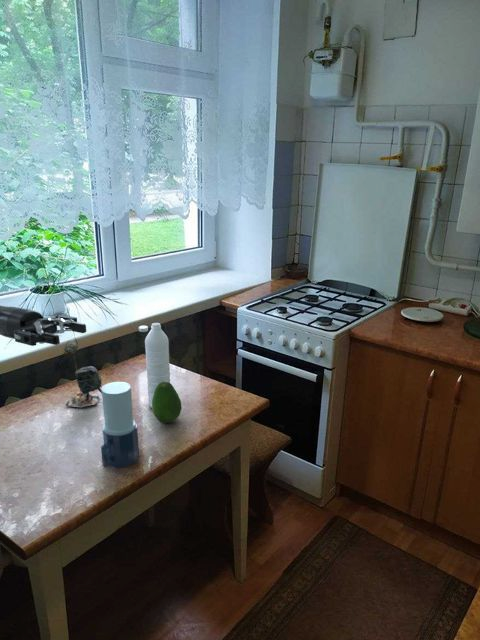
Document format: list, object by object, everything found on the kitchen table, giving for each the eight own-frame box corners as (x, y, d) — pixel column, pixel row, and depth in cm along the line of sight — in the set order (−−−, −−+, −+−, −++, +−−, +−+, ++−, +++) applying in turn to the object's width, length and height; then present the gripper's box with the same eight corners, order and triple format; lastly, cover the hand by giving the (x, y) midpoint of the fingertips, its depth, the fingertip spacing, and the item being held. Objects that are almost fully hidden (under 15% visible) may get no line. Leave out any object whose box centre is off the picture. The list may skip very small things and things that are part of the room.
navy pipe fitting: (117, 446, 124) (115, 416, 121) (145, 453, 122) (143, 422, 119) (90, 470, 114) (86, 438, 111) (119, 478, 112) (116, 446, 109)
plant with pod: (98, 411, 140) (91, 346, 133) (61, 407, 142) (53, 342, 134) (111, 399, 147) (106, 336, 140) (76, 394, 149) (69, 332, 142)
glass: (135, 434, 114) (132, 393, 110) (101, 436, 112) (97, 395, 109) (136, 418, 120) (133, 379, 117) (104, 420, 119) (100, 381, 115)
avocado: (147, 421, 136) (145, 381, 132) (171, 411, 141) (169, 373, 137) (164, 432, 131) (162, 391, 126) (188, 422, 136) (187, 383, 132)
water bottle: (161, 396, 150) (157, 318, 140) (175, 403, 146) (172, 323, 137) (137, 406, 143) (132, 325, 134) (151, 414, 140) (147, 331, 130)
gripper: (-11, 316, 110) (46, 327, 105) (39, 301, 122) (91, 310, 117) (-5, 348, 113) (50, 360, 107) (43, 329, 125) (94, 339, 120)
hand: (72, 334), depth 112 cm, fingers open, 8 cm apart
